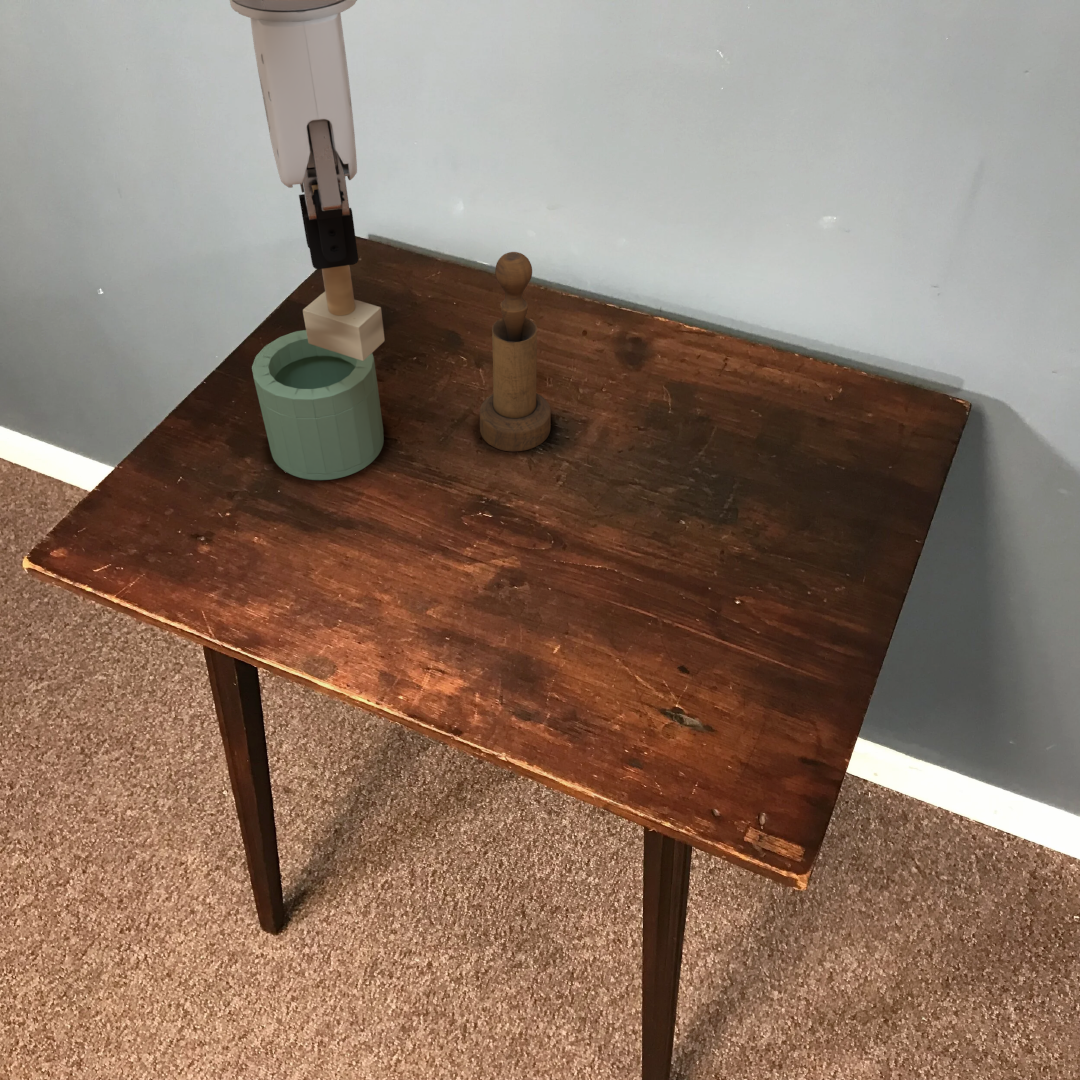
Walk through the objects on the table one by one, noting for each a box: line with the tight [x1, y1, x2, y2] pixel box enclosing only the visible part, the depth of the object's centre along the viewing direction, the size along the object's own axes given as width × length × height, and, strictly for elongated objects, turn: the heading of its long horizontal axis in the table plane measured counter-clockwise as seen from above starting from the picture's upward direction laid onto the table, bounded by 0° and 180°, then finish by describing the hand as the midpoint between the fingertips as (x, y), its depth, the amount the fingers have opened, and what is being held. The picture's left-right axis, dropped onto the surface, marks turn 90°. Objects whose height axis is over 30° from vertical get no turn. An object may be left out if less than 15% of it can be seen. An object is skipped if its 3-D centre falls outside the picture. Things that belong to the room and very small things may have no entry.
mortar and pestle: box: [479, 251, 552, 453], centre depth 90 cm, size 7×6×18 cm
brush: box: [302, 185, 385, 361], centre depth 75 cm, size 5×3×13 cm, turn 63°
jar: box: [251, 329, 385, 481], centre depth 92 cm, size 10×10×9 cm
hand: (332, 253), depth 74 cm, fingers closed on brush, 2 cm apart
